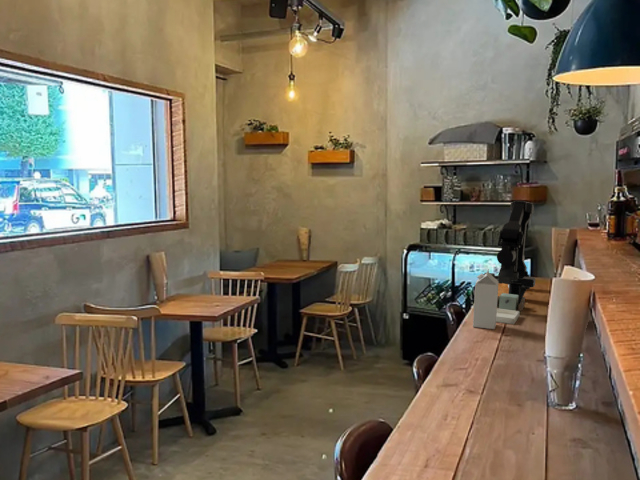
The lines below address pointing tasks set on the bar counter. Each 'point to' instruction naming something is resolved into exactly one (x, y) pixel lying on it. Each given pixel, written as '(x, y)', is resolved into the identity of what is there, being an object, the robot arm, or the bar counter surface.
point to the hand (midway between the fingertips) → (506, 302)
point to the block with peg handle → (508, 301)
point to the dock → (518, 304)
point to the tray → (507, 316)
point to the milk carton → (485, 301)
